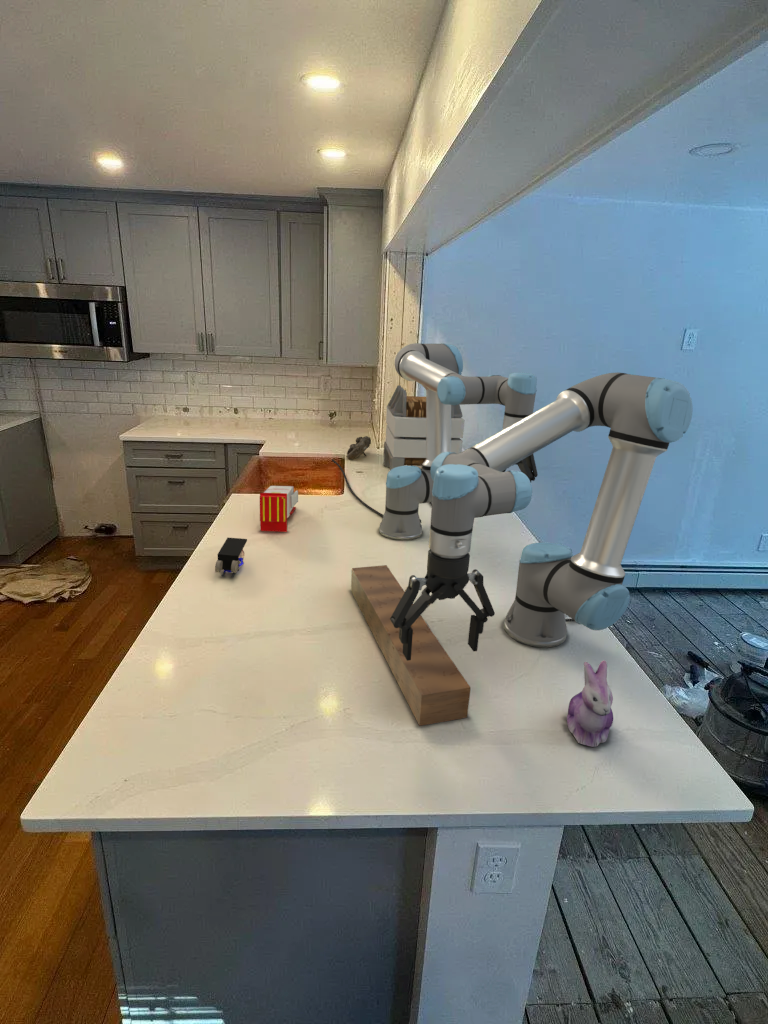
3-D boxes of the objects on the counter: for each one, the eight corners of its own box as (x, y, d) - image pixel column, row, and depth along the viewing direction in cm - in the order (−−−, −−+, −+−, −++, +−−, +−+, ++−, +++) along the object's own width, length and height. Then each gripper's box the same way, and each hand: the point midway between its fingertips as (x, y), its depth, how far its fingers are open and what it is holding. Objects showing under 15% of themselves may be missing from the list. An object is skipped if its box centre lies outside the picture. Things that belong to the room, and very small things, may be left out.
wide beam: (351, 591, 158) (351, 568, 156) (385, 587, 161) (386, 564, 159) (419, 726, 108) (421, 695, 106) (467, 717, 111) (470, 687, 109)
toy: (300, 481, 221) (289, 494, 192) (300, 514, 224) (289, 533, 194) (268, 480, 221) (253, 493, 191) (269, 514, 223) (254, 532, 194)
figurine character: (238, 584, 162) (249, 557, 175) (236, 562, 158) (247, 536, 172) (215, 584, 161) (227, 556, 175) (212, 561, 158) (225, 535, 171)
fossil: (346, 442, 311) (368, 427, 306) (357, 455, 314) (379, 440, 309) (340, 456, 291) (363, 440, 286) (351, 470, 294) (374, 454, 289)
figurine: (591, 756, 102) (606, 687, 97) (551, 721, 111) (563, 655, 106) (628, 741, 107) (644, 673, 101) (587, 708, 115) (599, 644, 110)
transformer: (382, 463, 289) (386, 382, 275) (445, 464, 293) (451, 384, 279) (390, 482, 257) (394, 392, 243) (460, 483, 261) (468, 394, 247)
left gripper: (494, 438, 145) (485, 516, 152) (556, 430, 159) (546, 501, 166) (473, 432, 150) (466, 507, 158) (535, 425, 164) (526, 494, 172)
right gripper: (389, 565, 95) (383, 672, 102) (521, 553, 102) (507, 654, 109) (376, 547, 102) (372, 649, 109) (501, 538, 109) (489, 633, 116)
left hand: (507, 504), depth 162 cm, fingers open, 13 cm apart
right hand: (440, 652), depth 109 cm, fingers open, 13 cm apart
